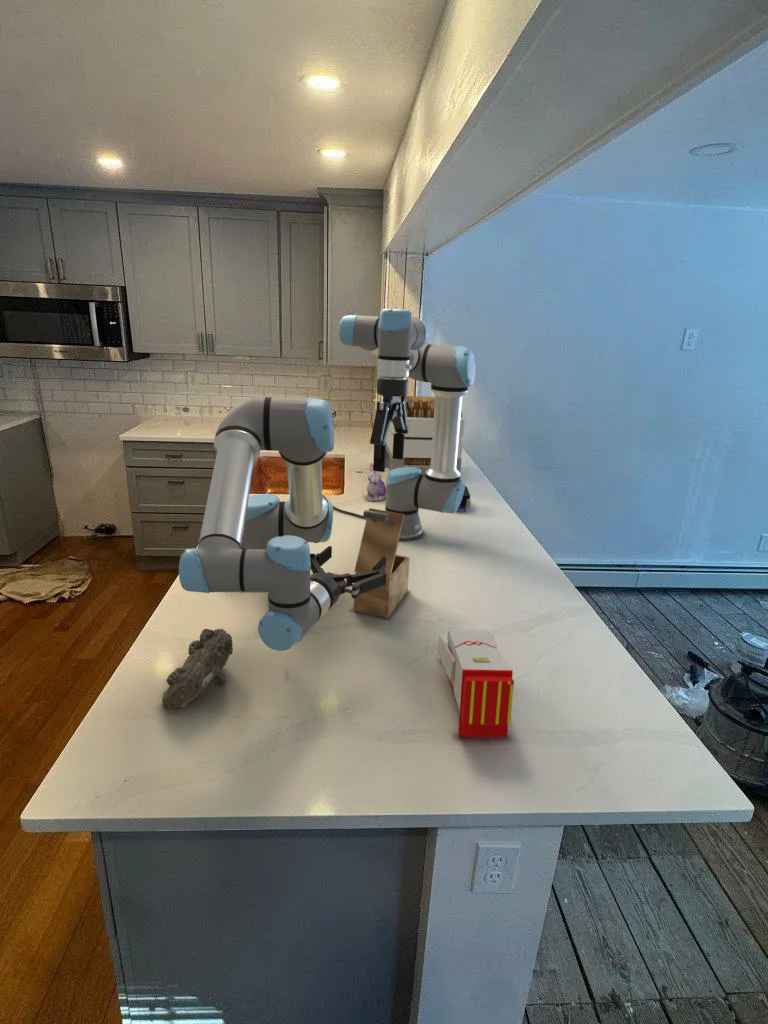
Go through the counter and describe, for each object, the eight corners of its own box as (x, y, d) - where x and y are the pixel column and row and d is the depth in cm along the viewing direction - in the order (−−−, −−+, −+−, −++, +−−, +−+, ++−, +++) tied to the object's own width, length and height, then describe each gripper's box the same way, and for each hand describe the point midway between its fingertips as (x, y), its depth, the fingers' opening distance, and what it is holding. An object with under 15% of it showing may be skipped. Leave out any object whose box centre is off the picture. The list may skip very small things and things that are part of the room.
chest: (376, 584, 163) (377, 550, 159) (407, 591, 159) (409, 557, 156) (353, 610, 148) (354, 573, 145) (387, 618, 145) (389, 580, 142)
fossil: (186, 631, 128) (233, 600, 123) (216, 659, 131) (263, 630, 126) (139, 703, 108) (193, 670, 103) (175, 734, 111) (229, 704, 106)
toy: (488, 613, 130) (523, 677, 101) (484, 667, 133) (517, 744, 104) (435, 612, 130) (455, 676, 101) (432, 666, 133) (451, 743, 103)
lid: (370, 508, 148) (359, 500, 139) (404, 514, 145) (395, 506, 136) (355, 572, 145) (343, 567, 137) (390, 579, 142) (379, 574, 134)
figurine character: (470, 516, 223) (465, 500, 237) (473, 499, 220) (467, 484, 233) (453, 516, 223) (449, 500, 236) (455, 498, 220) (451, 483, 233)
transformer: (382, 463, 289) (386, 382, 275) (445, 464, 293) (451, 384, 279) (390, 482, 257) (394, 392, 243) (460, 483, 261) (468, 394, 247)
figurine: (371, 503, 230) (372, 467, 224) (360, 495, 238) (361, 460, 233) (391, 500, 234) (393, 465, 229) (380, 493, 242) (381, 459, 237)
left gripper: (260, 600, 117) (308, 561, 136) (372, 627, 109) (407, 582, 128) (259, 567, 115) (308, 532, 133) (373, 593, 107) (409, 551, 125)
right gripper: (389, 384, 122) (385, 479, 129) (423, 374, 144) (418, 455, 151) (357, 381, 124) (355, 474, 132) (395, 372, 146) (391, 452, 154)
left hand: (357, 556), depth 131 cm, fingers open, 13 cm apart
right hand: (388, 464), depth 141 cm, fingers open, 13 cm apart
